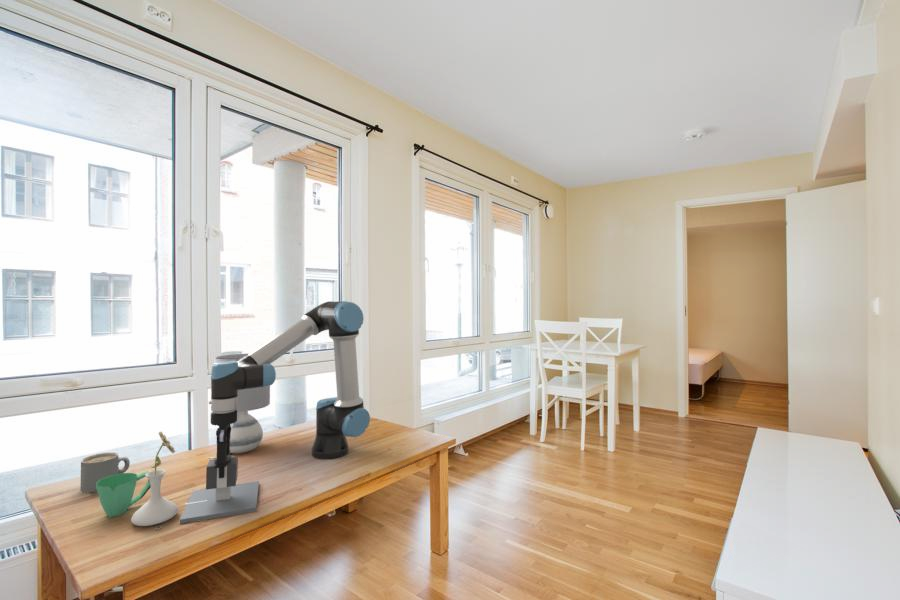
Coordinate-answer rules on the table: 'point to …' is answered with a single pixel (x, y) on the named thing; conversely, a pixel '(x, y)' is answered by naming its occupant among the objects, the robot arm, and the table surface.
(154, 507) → the flower in vase
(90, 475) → the coffee mug
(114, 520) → the table surface
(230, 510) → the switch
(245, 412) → the lamp
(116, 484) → the mug
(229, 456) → the knob
